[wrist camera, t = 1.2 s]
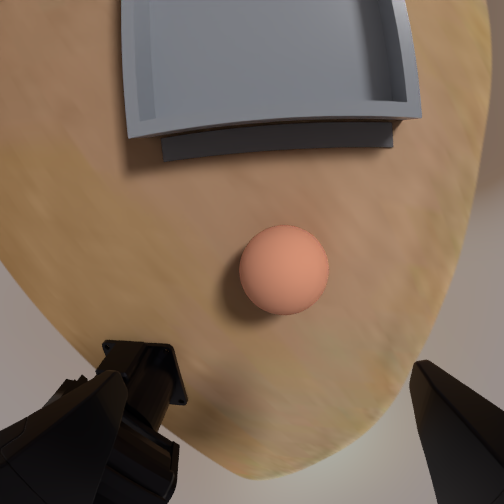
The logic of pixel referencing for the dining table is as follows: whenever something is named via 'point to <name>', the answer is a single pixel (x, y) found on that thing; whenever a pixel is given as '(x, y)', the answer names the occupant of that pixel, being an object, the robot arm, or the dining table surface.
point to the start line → (277, 139)
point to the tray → (265, 62)
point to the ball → (284, 270)
